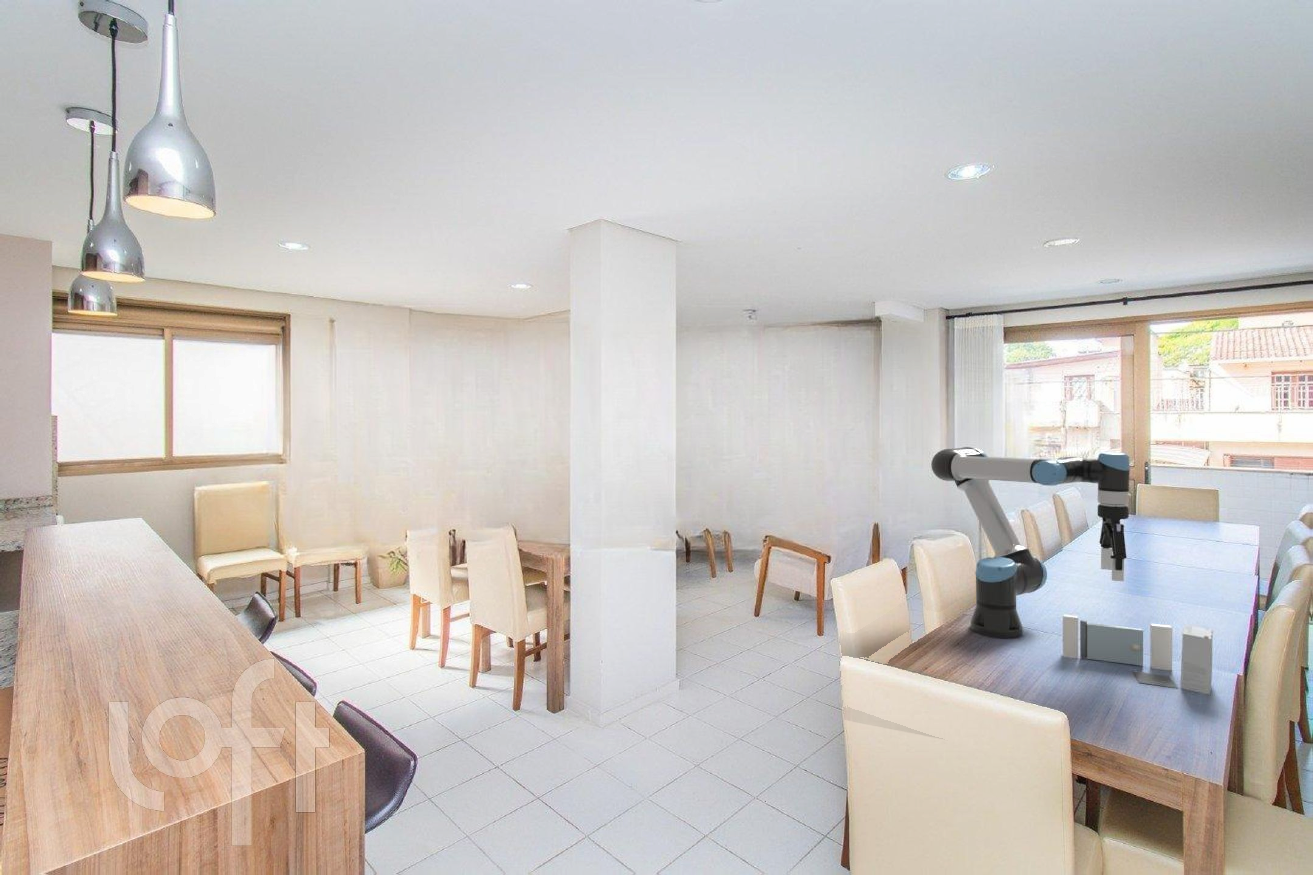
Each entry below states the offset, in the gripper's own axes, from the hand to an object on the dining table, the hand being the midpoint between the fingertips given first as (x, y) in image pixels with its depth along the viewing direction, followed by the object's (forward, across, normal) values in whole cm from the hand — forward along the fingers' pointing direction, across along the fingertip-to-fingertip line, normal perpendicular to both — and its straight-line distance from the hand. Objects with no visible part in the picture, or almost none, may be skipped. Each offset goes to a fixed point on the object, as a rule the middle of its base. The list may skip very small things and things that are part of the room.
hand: (1111, 574), depth 187 cm
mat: (+22, -22, -5) cm, 32 cm away
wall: (+23, -11, +1) cm, 25 cm away
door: (+22, -12, +2) cm, 25 cm away
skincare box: (+22, -23, -14) cm, 35 cm away
